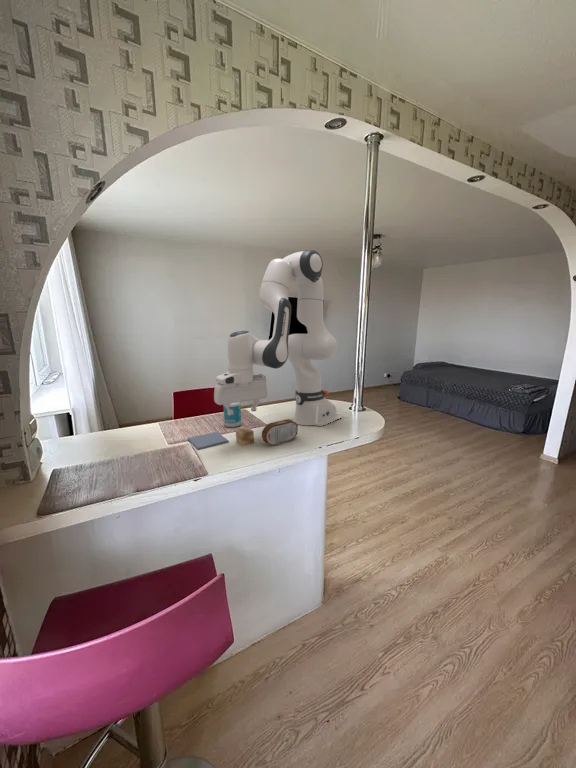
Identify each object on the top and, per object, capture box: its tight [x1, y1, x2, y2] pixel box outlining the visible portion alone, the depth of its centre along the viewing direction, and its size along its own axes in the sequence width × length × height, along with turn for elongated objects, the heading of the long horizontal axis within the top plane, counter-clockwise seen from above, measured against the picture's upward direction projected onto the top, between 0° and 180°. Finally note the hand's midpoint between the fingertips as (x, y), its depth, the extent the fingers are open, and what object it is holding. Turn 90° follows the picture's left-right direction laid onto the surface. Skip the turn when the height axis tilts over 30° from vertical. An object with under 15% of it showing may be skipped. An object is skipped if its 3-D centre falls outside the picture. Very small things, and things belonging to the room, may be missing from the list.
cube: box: [235, 426, 255, 447], centre depth 125 cm, size 5×5×5 cm
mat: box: [187, 431, 230, 451], centre depth 128 cm, size 12×12×1 cm
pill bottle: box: [222, 402, 243, 428], centre depth 145 cm, size 8×7×14 cm
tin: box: [261, 418, 299, 446], centre depth 124 cm, size 15×3×8 cm, turn 124°
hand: (242, 413), depth 123 cm, fingers open, 8 cm apart
